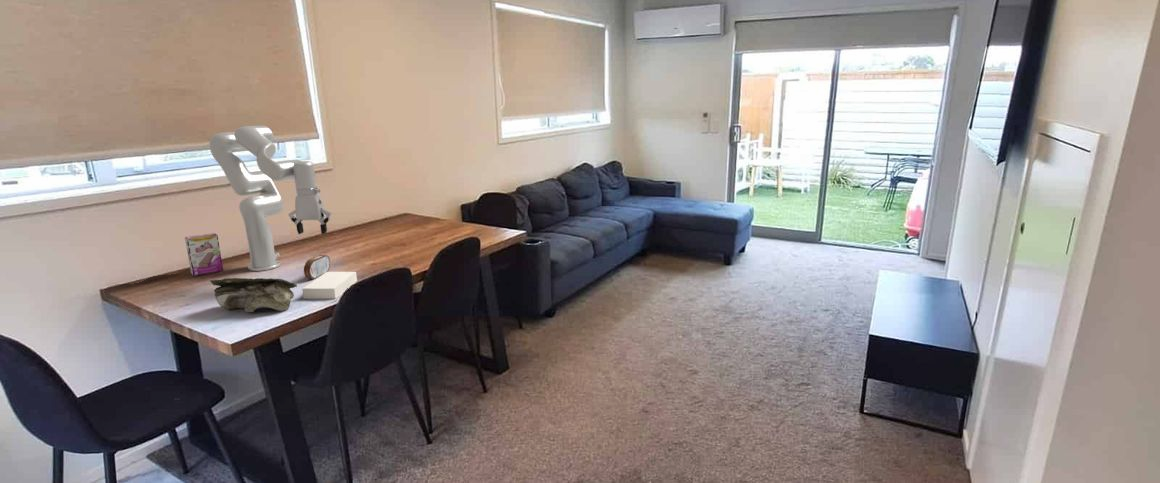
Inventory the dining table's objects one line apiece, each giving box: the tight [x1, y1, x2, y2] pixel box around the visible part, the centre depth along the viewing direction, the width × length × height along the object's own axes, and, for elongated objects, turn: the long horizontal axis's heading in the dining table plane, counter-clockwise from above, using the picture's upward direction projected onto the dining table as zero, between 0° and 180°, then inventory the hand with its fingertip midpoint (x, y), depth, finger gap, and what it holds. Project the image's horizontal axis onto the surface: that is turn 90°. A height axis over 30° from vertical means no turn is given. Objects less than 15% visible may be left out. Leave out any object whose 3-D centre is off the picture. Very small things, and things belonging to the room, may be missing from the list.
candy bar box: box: [184, 232, 224, 277], centre depth 234 cm, size 11×5×16 cm, turn 135°
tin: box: [303, 253, 331, 280], centre depth 231 cm, size 15×3×8 cm, turn 171°
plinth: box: [302, 271, 358, 300], centre depth 215 cm, size 20×12×4 cm, turn 179°
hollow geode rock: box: [209, 277, 298, 313], centre depth 194 cm, size 28×13×15 cm
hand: (312, 233), depth 227 cm, fingers open, 9 cm apart
